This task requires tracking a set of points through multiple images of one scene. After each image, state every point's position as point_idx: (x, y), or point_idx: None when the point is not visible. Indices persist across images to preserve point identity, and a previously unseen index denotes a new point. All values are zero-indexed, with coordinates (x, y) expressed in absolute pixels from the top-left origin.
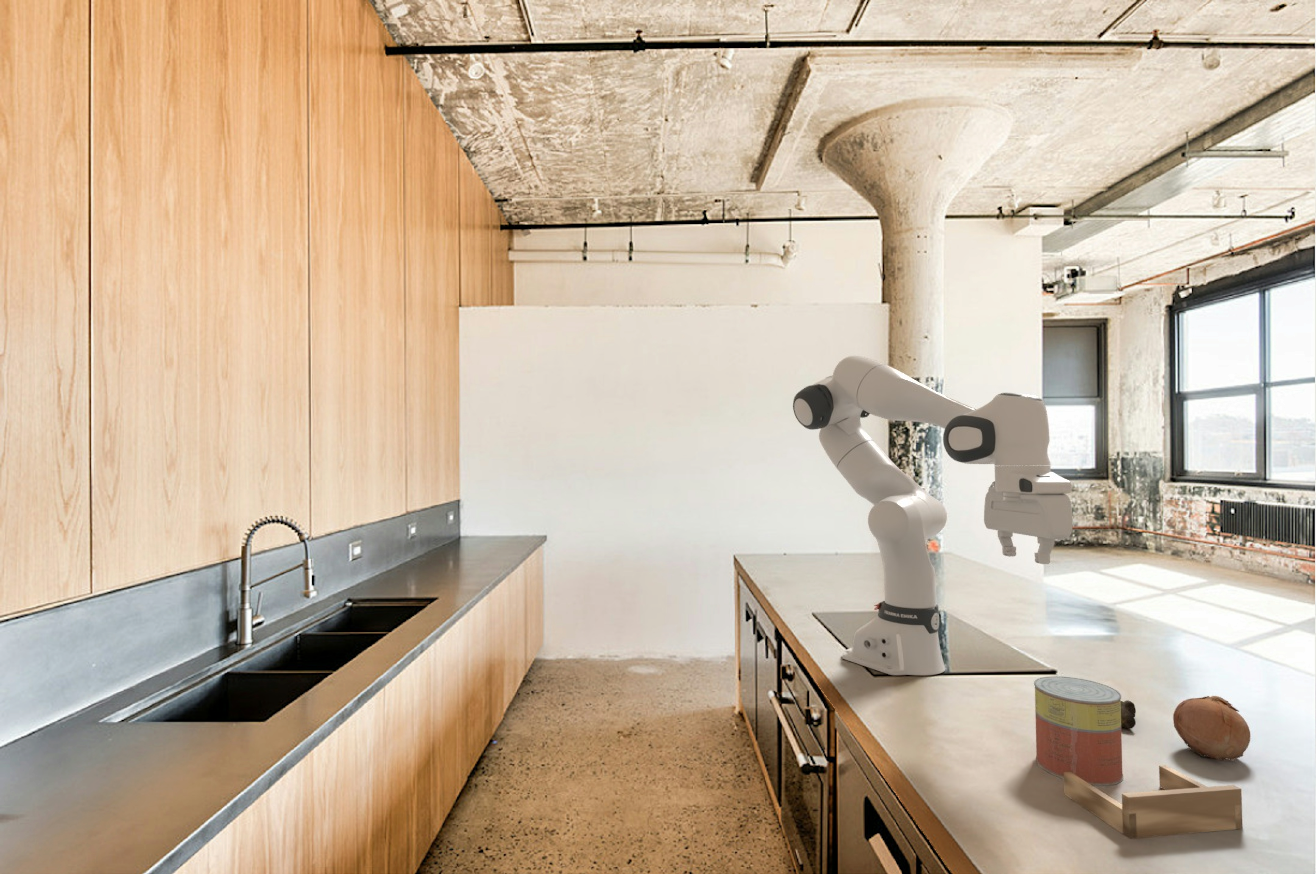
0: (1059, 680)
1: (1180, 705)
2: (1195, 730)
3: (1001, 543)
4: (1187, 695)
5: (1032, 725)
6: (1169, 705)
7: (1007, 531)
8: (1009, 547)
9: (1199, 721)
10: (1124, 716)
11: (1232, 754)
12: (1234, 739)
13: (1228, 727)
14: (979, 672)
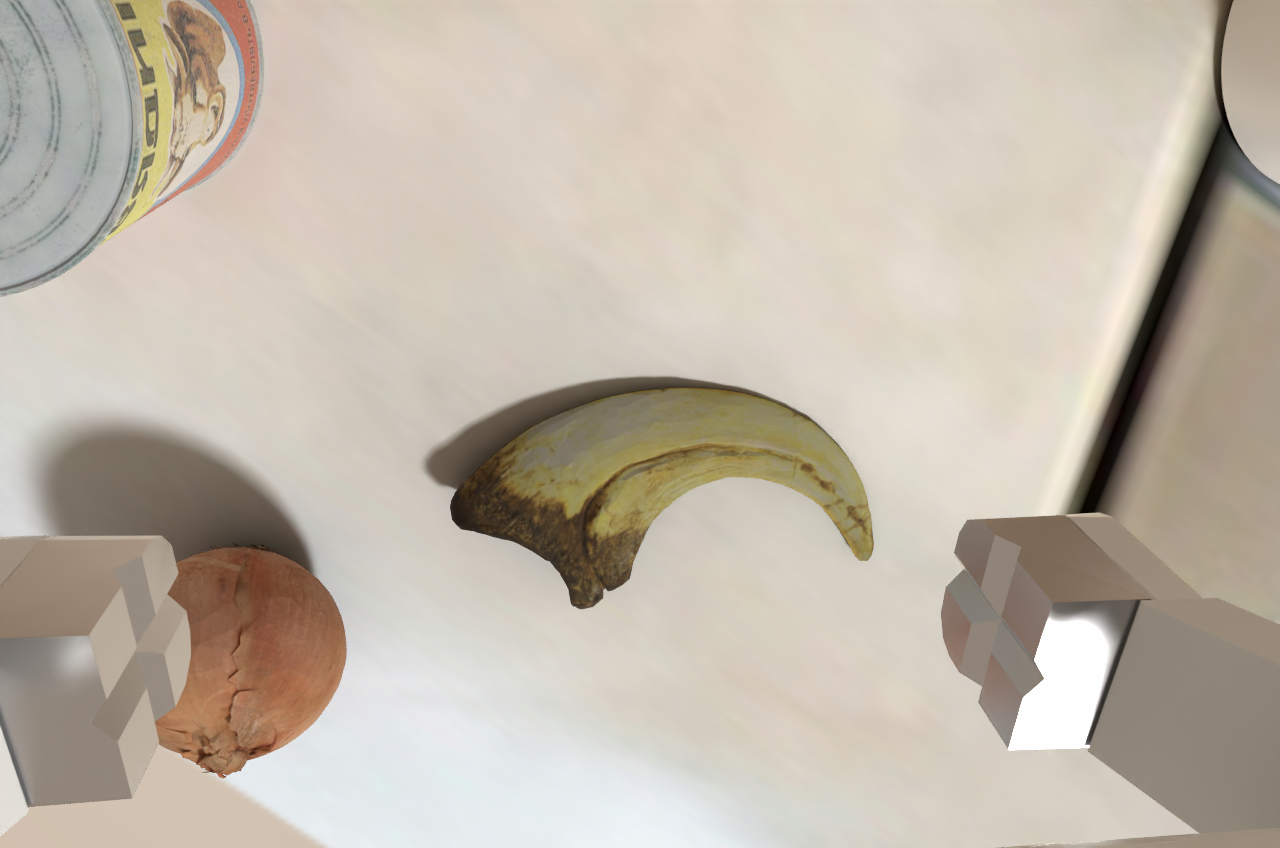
0: (57, 82)
1: (248, 632)
2: None
3: (1255, 625)
4: (736, 840)
5: (545, 148)
6: (667, 744)
7: (1106, 843)
8: (1032, 639)
9: None
10: (475, 503)
11: None
12: None
13: None
14: (1168, 319)
